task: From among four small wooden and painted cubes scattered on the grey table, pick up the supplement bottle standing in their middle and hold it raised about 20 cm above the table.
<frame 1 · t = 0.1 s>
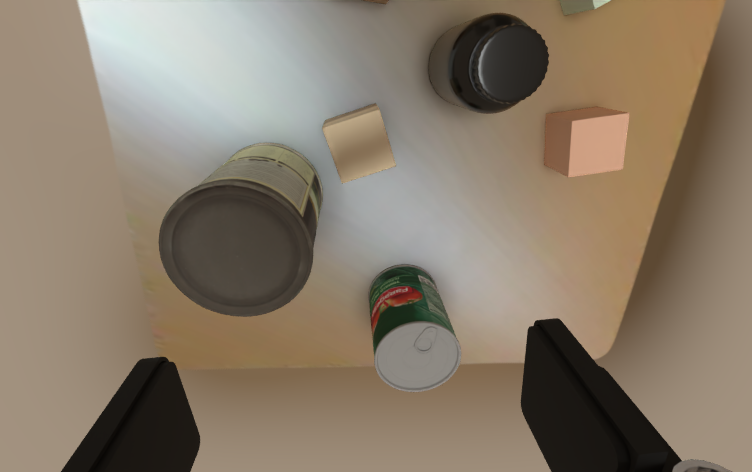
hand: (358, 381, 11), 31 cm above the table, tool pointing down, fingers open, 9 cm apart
maple cube: (358, 137, 39), on the table
terracotta painted cube: (569, 136, 40), on the table
coffee can: (272, 192, 41), on the table
canned tomato: (402, 293, 46), on the table
supplement bottle: (463, 65, 37), on the table
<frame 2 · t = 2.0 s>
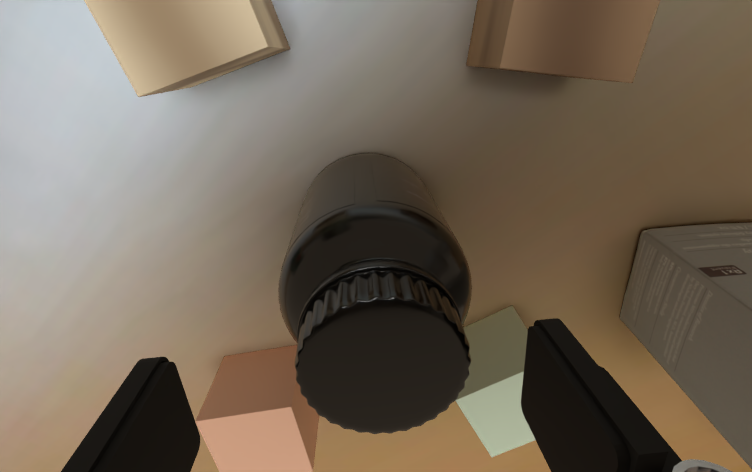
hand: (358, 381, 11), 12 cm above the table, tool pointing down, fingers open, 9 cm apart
sage painted cube: (489, 349, 26), on the table
maple cube: (214, 9, 18), on the table
walnut cube: (530, 11, 18), on the table
terracotta painted cube: (274, 379, 26), on the table
skincare box: (686, 275, 24), on the table
supplement bottle: (368, 211, 22), on the table
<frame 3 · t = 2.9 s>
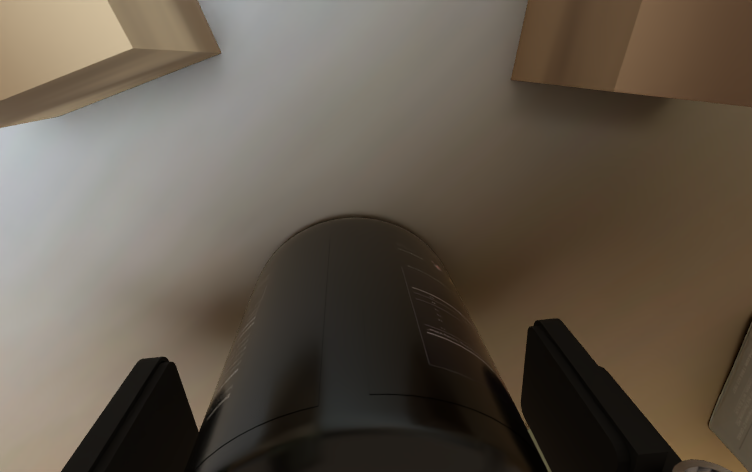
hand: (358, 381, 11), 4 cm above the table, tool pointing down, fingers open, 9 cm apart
supplement bottle: (356, 297, 15), on the table
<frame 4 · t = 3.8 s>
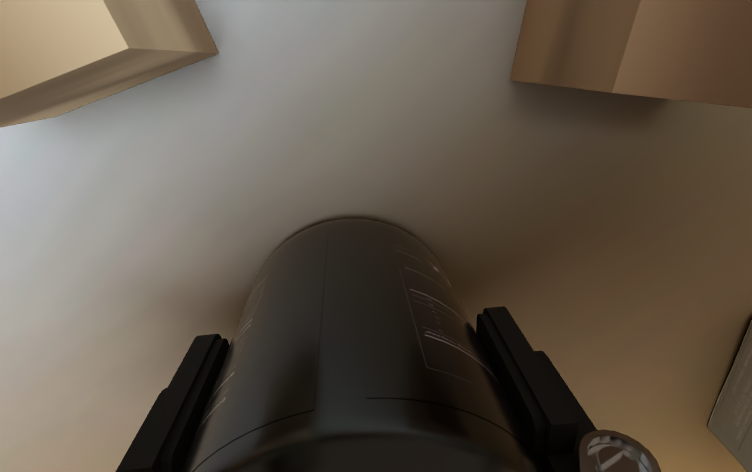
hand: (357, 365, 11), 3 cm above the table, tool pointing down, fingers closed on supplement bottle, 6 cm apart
supplement bottle: (354, 298, 14), on the table, touching gripper
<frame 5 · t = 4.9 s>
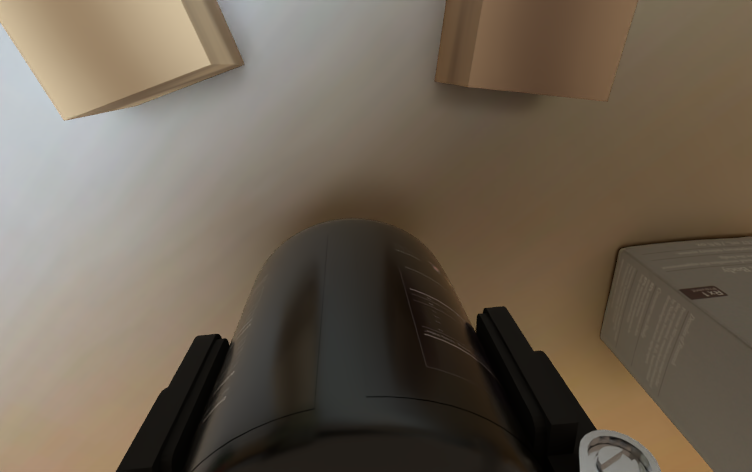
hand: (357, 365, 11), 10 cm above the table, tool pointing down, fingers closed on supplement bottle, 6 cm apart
maple cube: (158, 22, 16), on the table
walnut cube: (500, 25, 17), on the table
skincare box: (665, 292, 24), on the table
supplement bottle: (354, 298, 14), point 6 cm above the table, touching gripper
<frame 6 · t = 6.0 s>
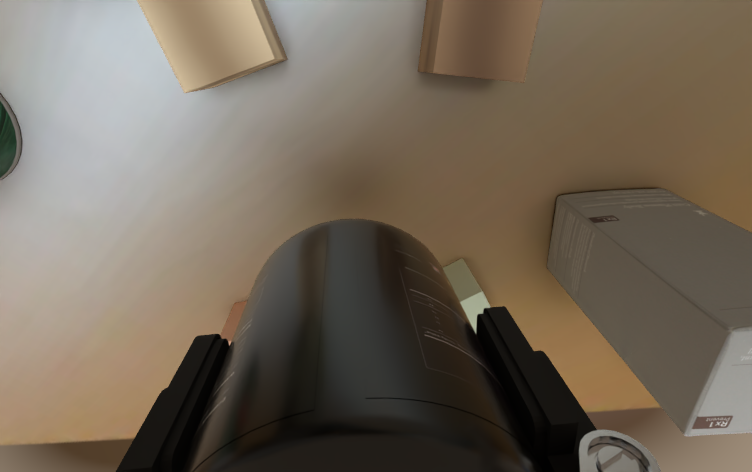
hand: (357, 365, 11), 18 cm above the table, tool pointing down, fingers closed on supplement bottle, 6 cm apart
sage painted cube: (446, 295, 33), on the table
maple cube: (231, 30, 24), on the table
walnut cube: (462, 32, 25), on the table
terracotta painted cube: (274, 322, 32), on the table
skincare box: (595, 232, 31), on the table
supplement bottle: (354, 299, 14), point 15 cm above the table, touching gripper
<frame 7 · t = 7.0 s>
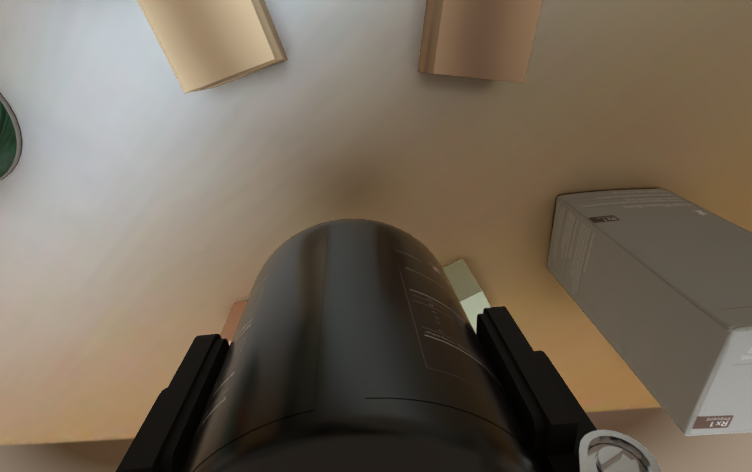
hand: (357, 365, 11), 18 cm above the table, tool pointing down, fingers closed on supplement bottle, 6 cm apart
sage painted cube: (446, 295, 33), on the table
maple cube: (231, 30, 24), on the table
walnut cube: (462, 32, 25), on the table
terracotta painted cube: (275, 322, 32), on the table
skincare box: (595, 232, 31), on the table
supplement bottle: (354, 299, 14), point 15 cm above the table, touching gripper
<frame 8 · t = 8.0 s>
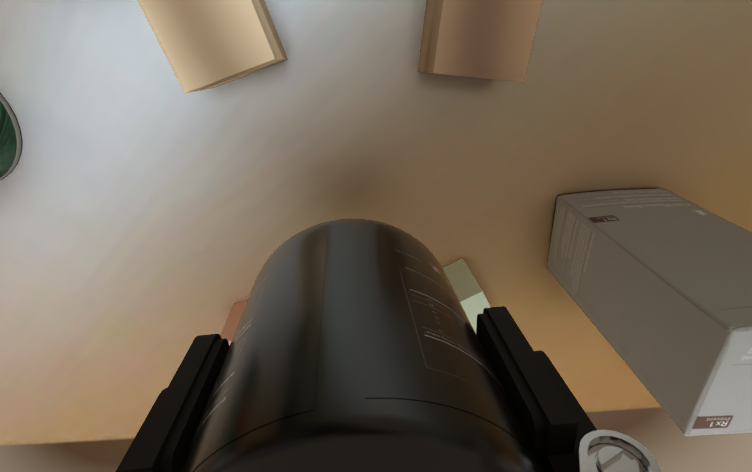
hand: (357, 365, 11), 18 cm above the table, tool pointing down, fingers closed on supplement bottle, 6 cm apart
sage painted cube: (446, 295, 33), on the table
maple cube: (231, 30, 24), on the table
walnut cube: (462, 32, 25), on the table
terracotta painted cube: (275, 322, 32), on the table
skincare box: (595, 232, 31), on the table
supplement bottle: (354, 299, 14), point 15 cm above the table, touching gripper
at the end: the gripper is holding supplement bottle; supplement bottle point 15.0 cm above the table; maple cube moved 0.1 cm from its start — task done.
